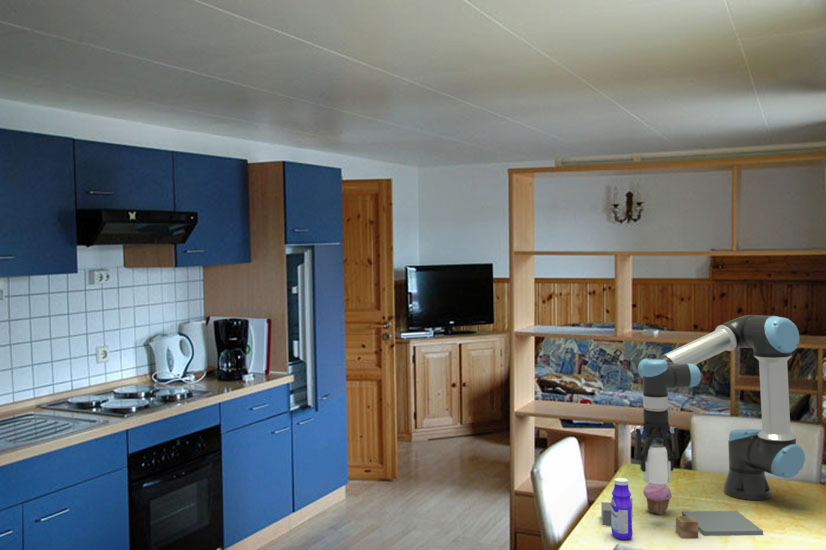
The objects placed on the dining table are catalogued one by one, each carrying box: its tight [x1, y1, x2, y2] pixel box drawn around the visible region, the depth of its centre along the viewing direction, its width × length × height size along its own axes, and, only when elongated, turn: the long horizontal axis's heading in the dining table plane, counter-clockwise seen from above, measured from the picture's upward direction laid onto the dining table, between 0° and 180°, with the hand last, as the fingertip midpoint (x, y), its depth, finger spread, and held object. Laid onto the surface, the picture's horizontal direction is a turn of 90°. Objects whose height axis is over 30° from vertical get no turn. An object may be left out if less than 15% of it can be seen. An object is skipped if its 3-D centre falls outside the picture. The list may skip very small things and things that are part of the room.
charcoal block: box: [600, 501, 611, 527], centre depth 233 cm, size 4×8×5 cm, turn 169°
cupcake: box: [642, 483, 673, 515], centre depth 241 cm, size 9×9×10 cm
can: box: [646, 442, 669, 485], centre depth 230 cm, size 6×6×12 cm
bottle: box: [610, 477, 634, 540], centre depth 220 cm, size 7×6×17 cm
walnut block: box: [675, 515, 699, 539], centre depth 220 cm, size 5×5×5 cm
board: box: [681, 510, 764, 536], centre depth 229 cm, size 18×18×1 cm
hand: (657, 480), depth 230 cm, fingers closed on can, 6 cm apart
